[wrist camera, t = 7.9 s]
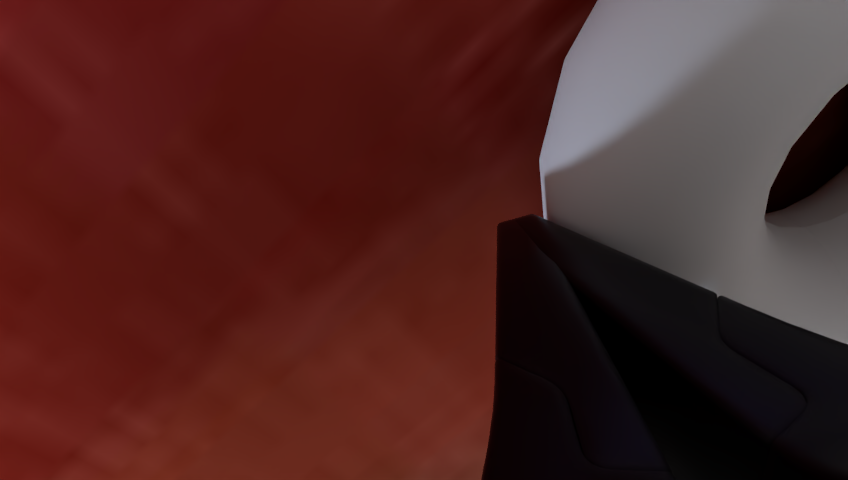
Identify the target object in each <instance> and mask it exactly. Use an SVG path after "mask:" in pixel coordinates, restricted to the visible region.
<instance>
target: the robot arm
mask: <svg viewBox="0 0 848 480" xmlns="http://www.w3.org/2000/svg"><path fill="white" fill-rule="evenodd" d="M495 360H496V362H495V386H494V402H493V414H492V421H491V428H490V435H489V442H488V448H487V453H486V459H485V464H484V469H483V474H482V480H848V344H845V343H842V342H839V341H836V340H834V339H831V338H828V337H825V336H823V335H820V334H817V333H814V332H812V331H809V330H806V329H804V328H801V327H798V326H795V325H793V324H790V323H787V322H785V321H782V320H780V319H777V318H775V317H772V316H770V315H768V314H765V313H763V312H760V311H758V310H755V309H753V308H750V307H748V306H746V305H743V304H741V303H739V302H736V301H734V300H732V299H729V298H727V297H725V296H722V295H720V296H718V298H717V294H716V293H715V292H713V291H710V290H708V289H706V288H704V287H701V286H699V285H697V284H694V283H692V282H690V281H687V280H685V279H683V278H680V277H678V276H676V275H673V274H671V273H669V272H667V271H664V270H662V269H660V268H657V267H655V266H653V265H650V264H648V263H646V262H643V261H641V260H639V259H636V258H634V257H632V256H630V255H627V254H625V253H623V252H620V251H618V250H616V249H613V248H611V247H609V246H606V245H604V244H602V243H599V242H597V241H595V240H592V239H590V238H588V237H586V236H583V235H581V234H579V233H576V232H574V231H572V230H569V229H567V228H565V227H562V226H560V225H558V224H555V223H553V222H551V221H549V220H546V219H544V218H542V217H539V216H537V215H534V214H530V215H526V216H522V217H519V218H515V219H512V220H508V221H504V222H501V223H499V224H498V226H497V275H496V346H495Z"/></svg>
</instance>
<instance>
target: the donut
mask: <svg viewBox="0 0 848 480" xmlns="http://www.w3.org/2000/svg"><path fill="white" fill-rule="evenodd" d="M847 84H848V0H597V2H596V4H595V6H594V7H593V9H592V11H591V13H590V15H589V16H588V18H587V20H586V22H585V23H584V25H583V27H582V29H581V31H580V32H579V34H578V36H577V38H576V40H575V41H574V43H573V45H572V47H571V48H570V50H569V52H568V54H567V56H566V57H565V60H564V63H563V67H562V71H561V75H560V79H559V83H558V87H557V91H556V95H555V99H554V103H553V107H552V111H551V115H550V119H549V123H548V126H547V130H546V134H545V138H544V142H543V146H542V150H541V154H540V158H539V165H540V177H541V190H542V203H543V216H544V219H546V220H549V221H551V222H553V223H555V224H558V225H560V226H562V227H565V228H567V229H569V230H572V231H574V232H576V233H579V234H581V235H583V236H586V237H588V238H590V239H592V240H595V241H597V242H599V243H602V244H604V245H606V246H609V247H611V248H613V249H616V250H618V251H620V252H623V253H625V254H627V255H630V256H632V257H634V258H636V259H639V260H641V261H643V262H646V263H648V264H650V265H653V266H655V267H657V268H660V269H662V270H664V271H667V272H669V273H671V274H673V275H676V276H678V277H680V278H683V279H685V280H687V281H690V282H692V283H694V284H697V285H699V286H701V287H704V288H706V289H708V290H710V291H713V292H715V293H716V294H717V298H718V296H720V295H722V296H725V297H727V298H729V299H732V300H734V301H736V302H739V303H741V304H743V305H746V306H748V307H750V308H753V309H755V310H758V311H760V312H763V313H765V314H768V315H770V316H772V317H775V318H777V319H780V320H782V321H785V322H787V323H790V324H793V325H795V326H798V327H801V328H804V329H806V330H809V331H812V332H814V333H817V334H820V335H823V336H825V337H828V338H831V339H834V340H836V341H839V342H842V343H845V344H848V165H847V166H846V167H845V168H844V169H843V170H842V171H841V172H839V173H838V174H837V175H836V176H834V177H833V178H832V179H830V180H829V181H828V182H827V183H825V184H824V185H823V186H822V187H820V188H819V189H818V190H817V191H815V192H814V193H813V194H811V195H810V196H808V197H806V198H804V199H802V200H800V201H798V202H796V203H794V204H792V205H790V206H788V207H787V208H785V209H782V210H778V211H775V212H771V213H767V214H765V211H766V206H767V201H768V196H769V191H770V188H771V186H772V184H773V182H774V180H775V178H776V176H777V174H778V172H779V170H780V169H781V167H782V165H783V163H784V161H785V159H786V157H787V155H788V153H789V151H790V149H791V147H792V146H793V145H794V143H795V142H796V141H797V140H798V138H799V137H800V136H801V135H802V134H803V132H804V131H805V130H806V129H807V127H808V126H809V125H810V124H811V123H812V121H813V120H814V119H815V118H816V116H817V115H818V114H819V113H820V112H821V110H822V109H823V108H824V107H825V105H826V104H827V103H828V102H829V101H830V99H831V98H832V97H833V96H834V95H835V94H836V93H837V92H838V91H839V90H841V89H842V88H843V87H844V86H845V85H847Z"/></svg>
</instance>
